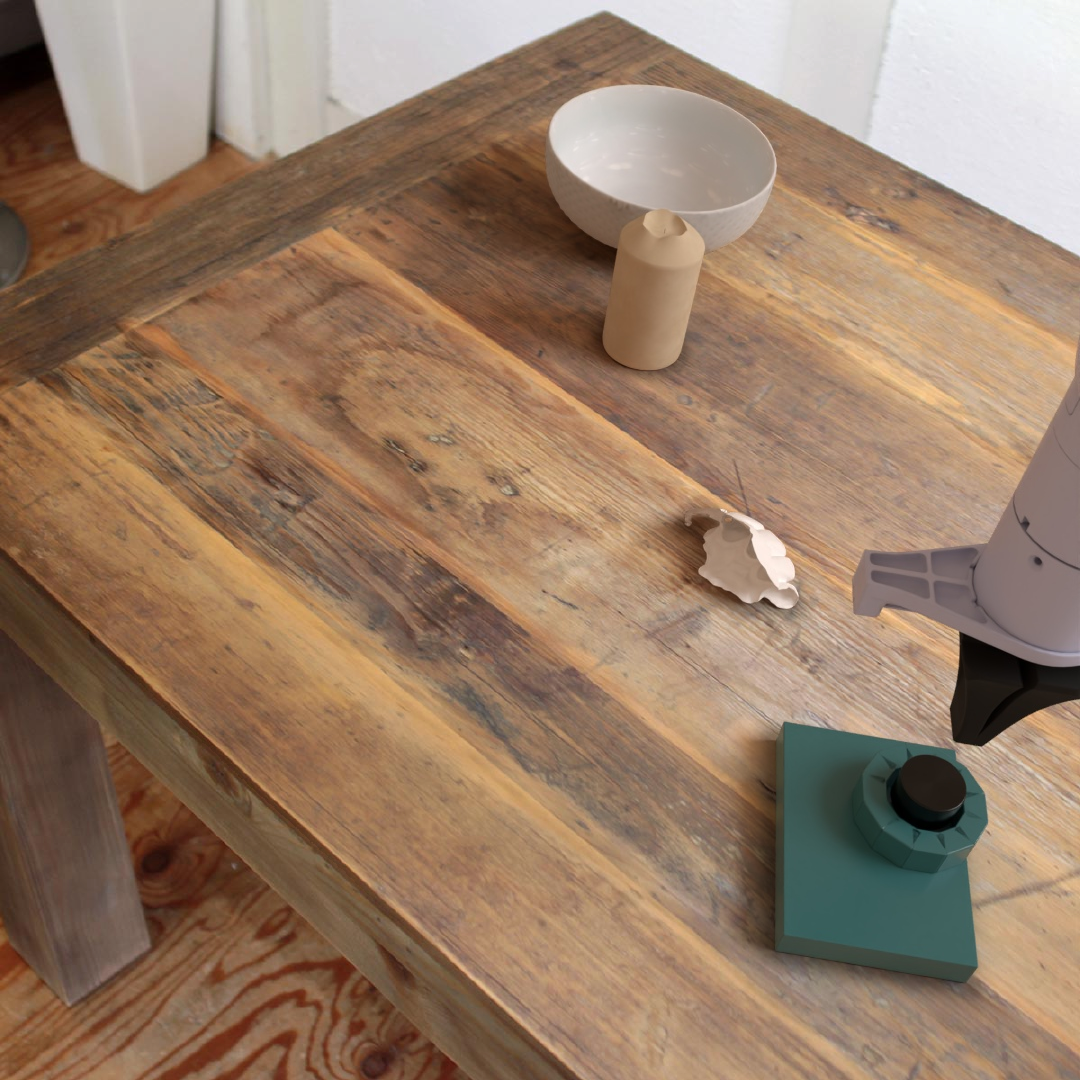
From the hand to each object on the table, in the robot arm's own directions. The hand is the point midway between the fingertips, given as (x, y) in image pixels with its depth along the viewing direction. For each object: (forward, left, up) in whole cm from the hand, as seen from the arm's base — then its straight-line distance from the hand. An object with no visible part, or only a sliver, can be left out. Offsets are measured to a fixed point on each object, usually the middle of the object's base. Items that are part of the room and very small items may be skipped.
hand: (966, 726), depth 60 cm
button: (0, 0, -6) cm, 6 cm away
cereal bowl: (+50, +17, -10) cm, 54 cm away
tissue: (+16, +9, -10) cm, 21 cm away
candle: (+35, +16, -10) cm, 40 cm away
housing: (-2, +2, -9) cm, 10 cm away
